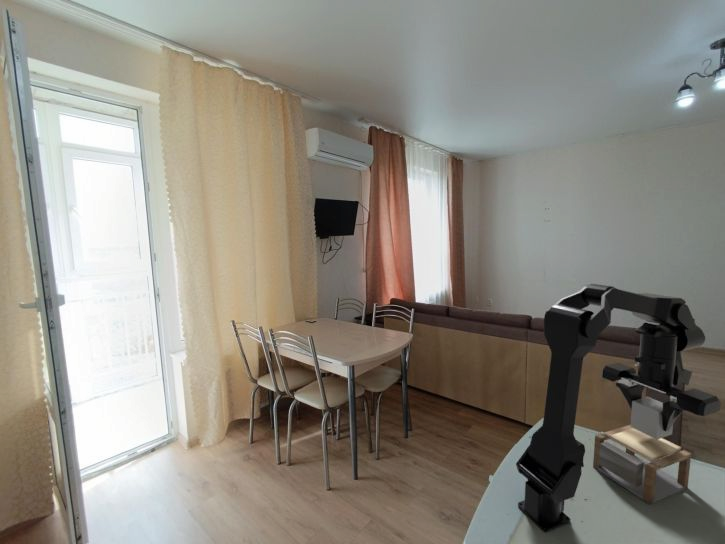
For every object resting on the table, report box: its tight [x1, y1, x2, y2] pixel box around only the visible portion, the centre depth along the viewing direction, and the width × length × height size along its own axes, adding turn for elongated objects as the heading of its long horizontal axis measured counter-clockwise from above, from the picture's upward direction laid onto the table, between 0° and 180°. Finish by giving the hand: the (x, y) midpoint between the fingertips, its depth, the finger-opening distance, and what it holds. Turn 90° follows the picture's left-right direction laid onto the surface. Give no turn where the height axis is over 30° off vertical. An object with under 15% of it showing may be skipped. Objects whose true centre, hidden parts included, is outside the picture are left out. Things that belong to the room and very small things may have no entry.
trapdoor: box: [599, 428, 682, 487], centre depth 71 cm, size 13×8×6 cm, turn 109°
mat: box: [592, 455, 686, 505], centre depth 72 cm, size 12×11×1 cm
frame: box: [592, 424, 692, 505], centre depth 71 cm, size 12×11×8 cm
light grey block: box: [629, 396, 674, 440], centre depth 71 cm, size 5×5×6 cm
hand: (651, 423), depth 71 cm, fingers closed on light grey block, 5 cm apart
